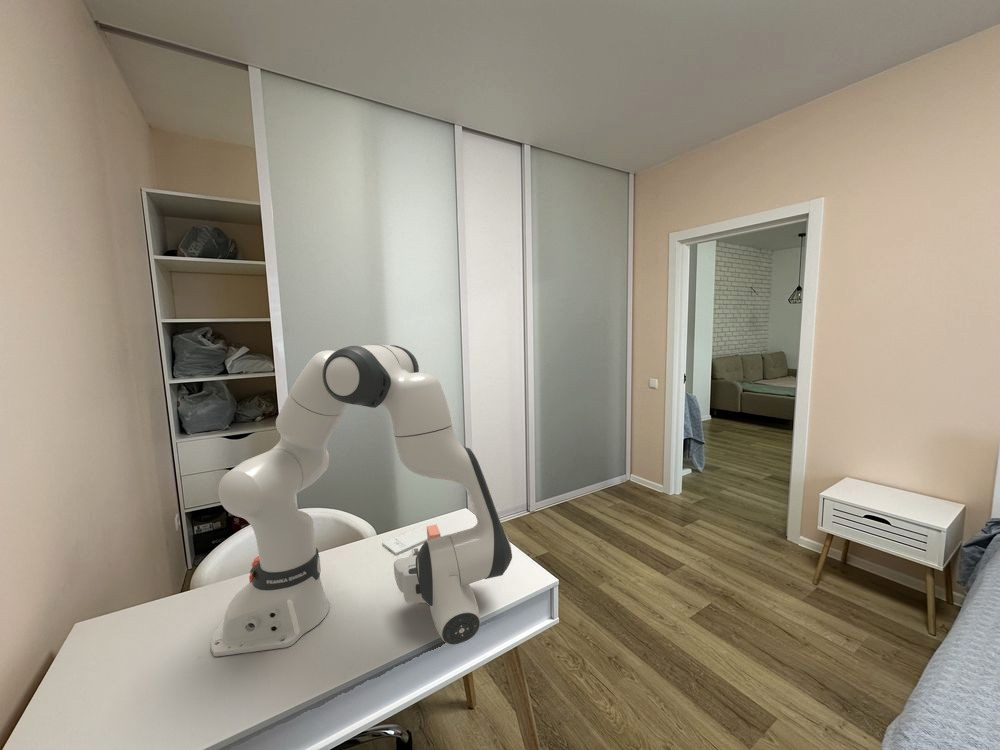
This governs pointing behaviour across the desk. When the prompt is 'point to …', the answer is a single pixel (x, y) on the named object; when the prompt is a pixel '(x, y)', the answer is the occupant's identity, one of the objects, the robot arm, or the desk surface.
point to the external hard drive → (406, 541)
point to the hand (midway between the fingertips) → (434, 547)
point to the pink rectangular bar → (432, 532)
